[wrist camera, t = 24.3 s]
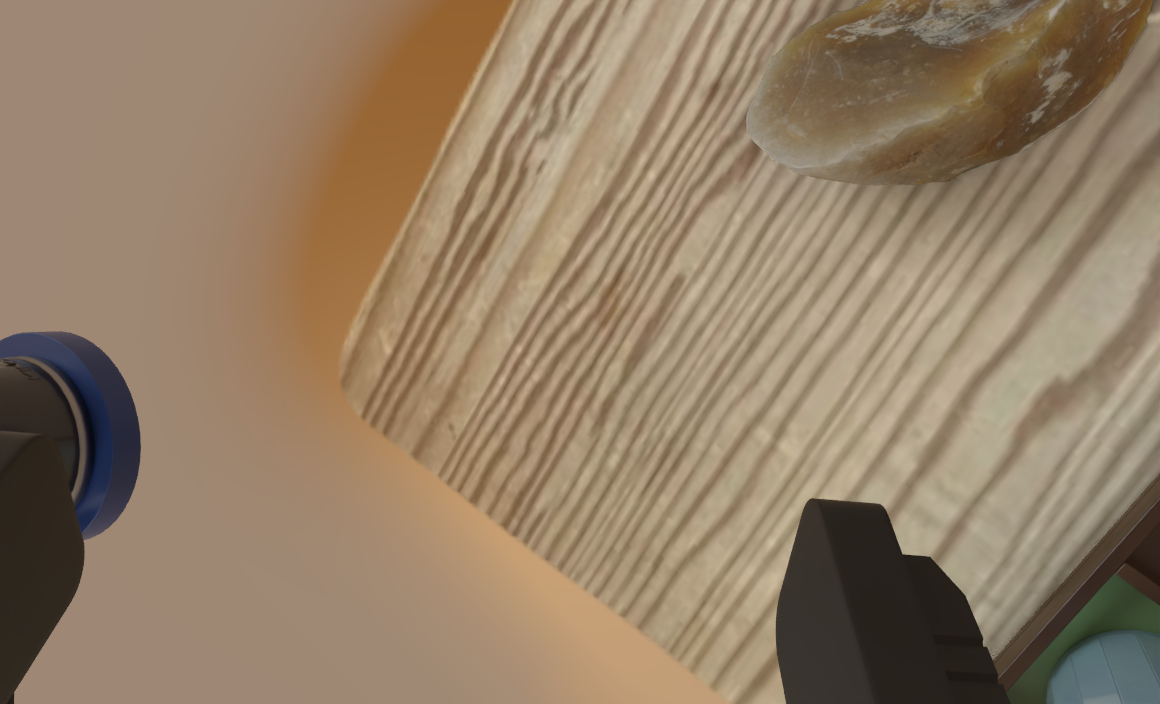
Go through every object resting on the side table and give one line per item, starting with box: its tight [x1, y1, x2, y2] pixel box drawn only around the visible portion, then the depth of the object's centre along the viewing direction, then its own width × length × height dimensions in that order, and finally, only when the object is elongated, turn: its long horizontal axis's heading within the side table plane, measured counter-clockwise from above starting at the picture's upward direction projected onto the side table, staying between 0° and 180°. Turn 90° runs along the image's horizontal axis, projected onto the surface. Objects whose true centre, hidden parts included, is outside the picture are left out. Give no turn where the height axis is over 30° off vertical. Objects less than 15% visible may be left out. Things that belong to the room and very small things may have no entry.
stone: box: [746, 0, 1153, 185], centre depth 30 cm, size 7×6×15 cm
